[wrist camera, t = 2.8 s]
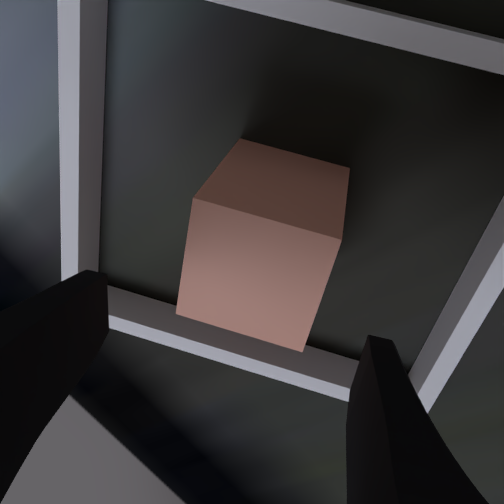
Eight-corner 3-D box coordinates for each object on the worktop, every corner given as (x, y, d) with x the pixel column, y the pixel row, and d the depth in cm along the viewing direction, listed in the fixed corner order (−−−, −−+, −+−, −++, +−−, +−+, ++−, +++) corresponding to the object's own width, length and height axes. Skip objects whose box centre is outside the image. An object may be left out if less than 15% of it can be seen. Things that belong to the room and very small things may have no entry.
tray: (603, 63, 15) (631, 75, 14) (417, 391, 24) (420, 424, 22) (88, -63, 17) (56, -67, 15) (83, 290, 25) (62, 313, 23)
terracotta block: (350, 167, 19) (342, 240, 14) (318, 261, 21) (302, 352, 16) (240, 138, 19) (193, 197, 14) (221, 233, 22) (175, 313, 17)
